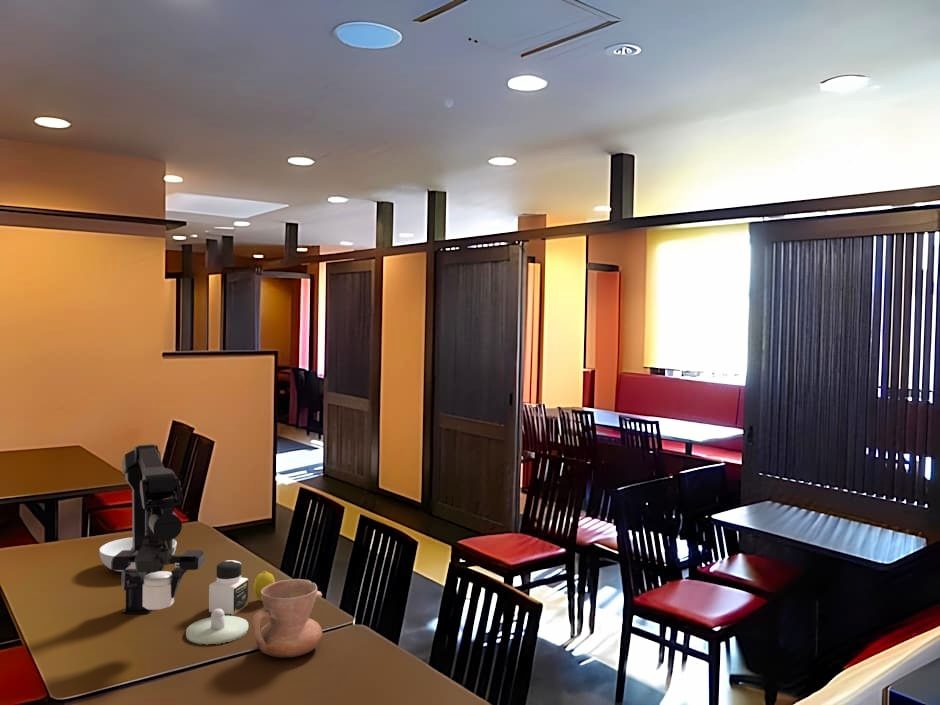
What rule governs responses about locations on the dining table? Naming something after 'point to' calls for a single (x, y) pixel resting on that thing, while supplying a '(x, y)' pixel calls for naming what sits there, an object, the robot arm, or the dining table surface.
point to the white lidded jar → (157, 590)
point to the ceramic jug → (287, 619)
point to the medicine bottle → (228, 588)
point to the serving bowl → (118, 550)
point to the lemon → (262, 582)
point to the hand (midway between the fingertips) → (158, 597)
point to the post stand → (217, 629)
